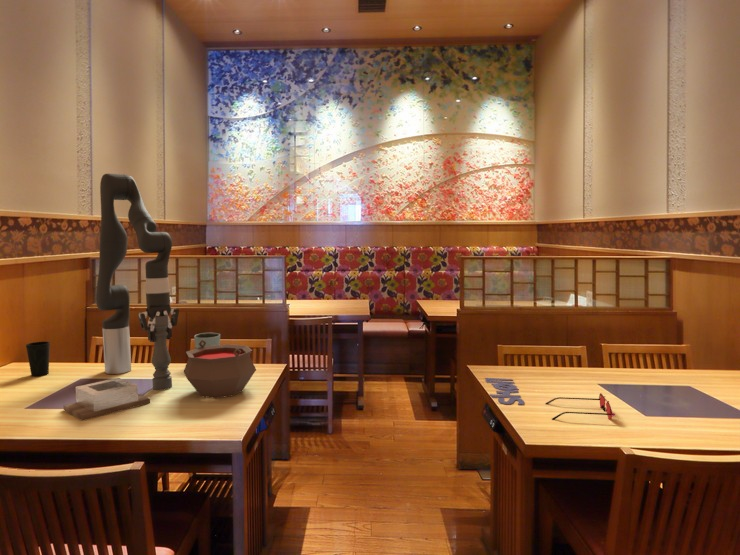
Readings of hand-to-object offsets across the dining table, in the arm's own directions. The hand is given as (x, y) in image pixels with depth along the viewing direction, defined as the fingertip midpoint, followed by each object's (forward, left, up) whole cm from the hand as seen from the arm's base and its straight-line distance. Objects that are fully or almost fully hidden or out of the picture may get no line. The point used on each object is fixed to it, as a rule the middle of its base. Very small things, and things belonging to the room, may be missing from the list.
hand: (160, 340), depth 183 cm
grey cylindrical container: (-16, +28, -17) cm, 36 cm away
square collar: (+6, -21, -15) cm, 26 cm away
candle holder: (0, 0, -17) cm, 17 cm away
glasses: (+119, +63, -17) cm, 136 cm away
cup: (-53, -21, -17) cm, 59 cm away
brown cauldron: (+20, +10, -17) cm, 28 cm away
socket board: (+6, -21, -16) cm, 27 cm away
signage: (+93, +69, -17) cm, 117 cm away
